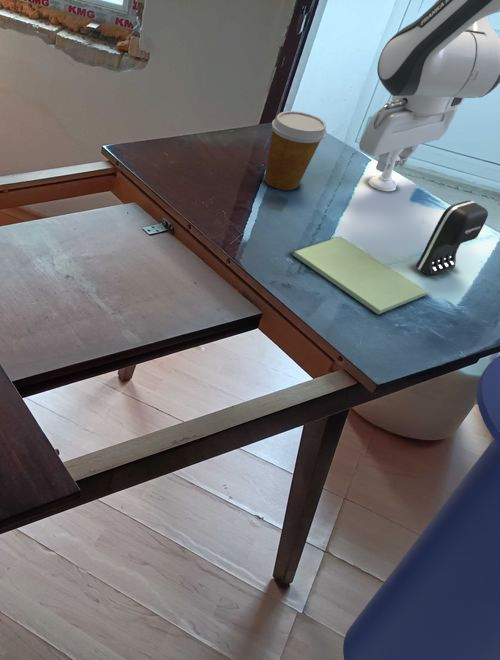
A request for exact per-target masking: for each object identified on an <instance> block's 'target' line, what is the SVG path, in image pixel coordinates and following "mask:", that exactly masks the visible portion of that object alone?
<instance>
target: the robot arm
mask: <svg viewBox="0 0 500 660" xmlns="http://www.w3.org/2000/svg"><path fill="white" fill-rule="evenodd" d="M497 13H500V0H436V1H435V2H434V4H433V5H432V6H431V7H430V8H428V9H427V10H426V11H425V12H424V13H423V14H422V15H421V16H419V17H418V18H417V19H416V20H415V21H413V22H410V24H408V25H406V26H405V27H403V28H402V29H400V30H399V31H398V32H396V33H395V34H394V35H393V36H392V37H391V38H390V39H389V40H388V41H387V42H386V43H385V46H384V47H382V51H381V53H380V55H379V57H378V61H377V68H376V70H377V76H378V79H379V81H380V83H381V84H382V86H383V87H384V88H385V90H386V91H387V92H388V93H389V94H391V101H387V102H385V104H384V106H382V107H381V108H380V109H377V111H375V112H374V114H373V115H372V117H371V118H370V120H369V122H368V124H367V125H366V128H365V130H364V132H363V134H362V135H361V138H360V141H359V144H358V147H359V150H360V151H362V152H363V153H365V154H367V155H369V156H371V157H377V156H378V162H377V164H376V165H375V169H376V170H377V171H379V172H381V173H383V172H384V171H387V170H389V167H390V166H391V163H392V162H390V156H392V155H393V153H394V151H397V150H400V149H404V150H403V151H402V152H401V153H400V154H399V155H398V156H399V157H400V160H399V161H395V164H394V167H395V168H401V167H405V166H406V163H407V162H408V160H409V158H411V156H412V155H413V154H414V153H415V151H416V150H417V148H418V146H420V145H423V144H426V143H431V142H435V141H439V140H440V139H441V138H442V137H443V136H444V135H445V134H446V132H447V131H448V129H449V127H450V125H451V123H452V122H453V120H454V119H455V116H456V114H457V112H458V107H459V106H460V105H462V104H463V102H464V101H465V99H475V98H479V99H480V98H483V97H485V96H486V95H488V94H490V93H491V92H493V91H494V90H495V89H496V88H497V87H498V85H500V36H499V34H497V32H496V31H495V29H494V27H493V25H492V24H491V22H490V19H489V16H491V15H494V14H497Z"/></svg>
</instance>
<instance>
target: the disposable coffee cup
mask: <svg viewBox="0 0 500 660" xmlns="http://www.w3.org/2000/svg"><path fill="white" fill-rule="evenodd" d="M271 127H272V133H271V138H270V144H269V149H268V150H269V151H268V156H267V162H266V169H265V173H264V177H263V178H264V182H265V184H267V185H269V186H270V187H272V188H275V189H279V190H284V191H290V190H295V189H297V188H298V187H299V185H300V182H301V181H302V178H303V176H304V175H305V173H306V170H307V169H308V167H309V164H310V163H311V161H312V159H313V157H314V155H315V153H316V151H317V149H318V147H319V145H320V143H321V141H323V139H324V138H325V137H326V135H327V124H326V122H325V121H324V120H323V119H322V118H320V117H318V116H316V115H314V114H311V113H307V112H303V111H296V110H288V111H282V112H279V113H278V114H277V115H276V117H275V118H274V119H273V120H272V123H271Z"/></svg>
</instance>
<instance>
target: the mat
mask: <svg viewBox="0 0 500 660" xmlns="http://www.w3.org/2000/svg"><path fill="white" fill-rule="evenodd" d="M292 256H293V257H295V258H296V259H297V260H298V261H300V262H301V263H303V264H305V265H306V266H308V267H309V268H310V269H312V270H313V271H315V272H316V273H318V274H319V275H321V276H322V277H323V278H325V279H326V280H328V282H331V283H332V284H334V285H335V286H337V287H338V288H339V289H340V290H342V291H344V293H346V294H348V295H349V296H351V297H352V298H354V299H355V300H356V301H357V302H359V303H360V304H362V305H364V306H365V307H366V308H368V309H369V310H371V311H372V312H374V313H375V314H377V315H381V314H383V313H385V312H388V311H390V310H393V309H395V308H397V307H400V306H402V305H405V304H407V303H410V302H412V301H415V300H417V299H420V298H422V297H425V296H426V295H427V293H428V290H426V289H425V288H424V287H421V286H420V285H418V284H417V283H415V282H413V281H412V280H410V279H409V278H408V277H406V276H404V275H402V274H401V273H399V272H398V271H396V270H395V269H393V268H392V267H390V266H388V265H387V264H386V263H384V262H382V261H380V260H379V259H378V258H377V257H375V256H373V255H371V254H370V253H368V252H366V251H365V250H363V249H362V248H360V247H358V246H356V245H355V244H353V243H352V242H350V241H349V240H348V239H346V238H345V237H343V236H337V237H334V238H331V239H328V240H326V241H325V240H324V241H321V242H319V243H315V244H313V245H310V246H306V247H304V248H301V249H297V250H294V251H293V254H292Z"/></svg>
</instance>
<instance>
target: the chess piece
mask: <svg viewBox="0 0 500 660" xmlns="http://www.w3.org/2000/svg"><path fill="white" fill-rule="evenodd" d="M403 150H404V149H400V150H397V151H394V153H393V155H392V156H390V162H392V163H391V166H390V167H389V170H387V171H384V172H381V174H379V175H373V176H372V177H370V179H369V180H368V184H369V185H370V186H371V187H372V188H374V189H376V190H379V191H382V192H393V191H395V190H396V188H397V182H396V181H395V180H394V179H393V178H392V174H393V171H394V167H395V166H394V164H395V161H399V160H400V157H399V156H398V155H399V154H400V153H401V152H402V151H403Z"/></svg>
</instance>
